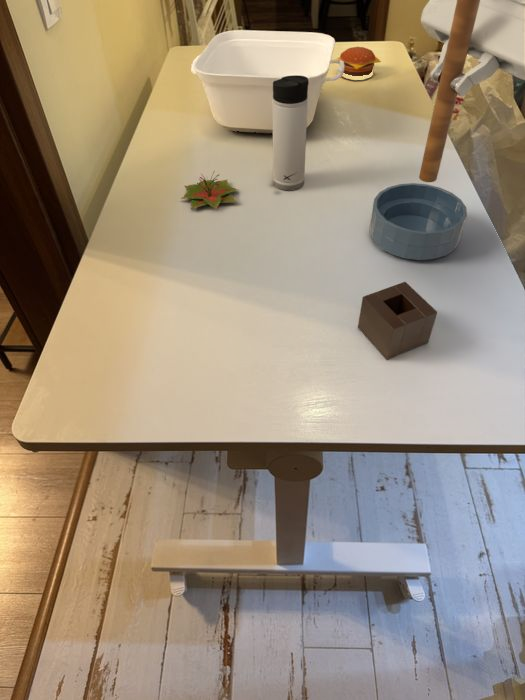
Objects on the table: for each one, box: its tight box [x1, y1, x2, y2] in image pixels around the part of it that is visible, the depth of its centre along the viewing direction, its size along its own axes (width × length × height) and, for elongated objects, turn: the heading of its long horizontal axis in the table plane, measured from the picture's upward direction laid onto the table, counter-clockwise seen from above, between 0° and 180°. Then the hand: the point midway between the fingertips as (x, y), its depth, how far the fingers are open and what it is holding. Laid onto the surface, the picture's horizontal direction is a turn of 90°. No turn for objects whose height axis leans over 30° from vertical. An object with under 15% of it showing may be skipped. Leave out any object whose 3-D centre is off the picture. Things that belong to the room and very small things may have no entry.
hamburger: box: [334, 46, 382, 76], centre depth 139 cm, size 9×10×7 cm
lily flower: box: [180, 170, 239, 211], centre depth 99 cm, size 12×12×5 cm
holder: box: [357, 281, 438, 361], centre depth 73 cm, size 7×7×6 cm
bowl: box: [368, 182, 468, 261], centre depth 89 cm, size 15×15×6 cm
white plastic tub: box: [190, 29, 344, 135], centre depth 119 cm, size 34×29×15 cm
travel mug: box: [272, 75, 309, 191], centre depth 97 cm, size 6×7×20 cm
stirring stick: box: [418, 0, 480, 183], centre depth 64 cm, size 2×2×22 cm
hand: (445, 86), depth 63 cm, fingers closed on stirring stick, 2 cm apart
